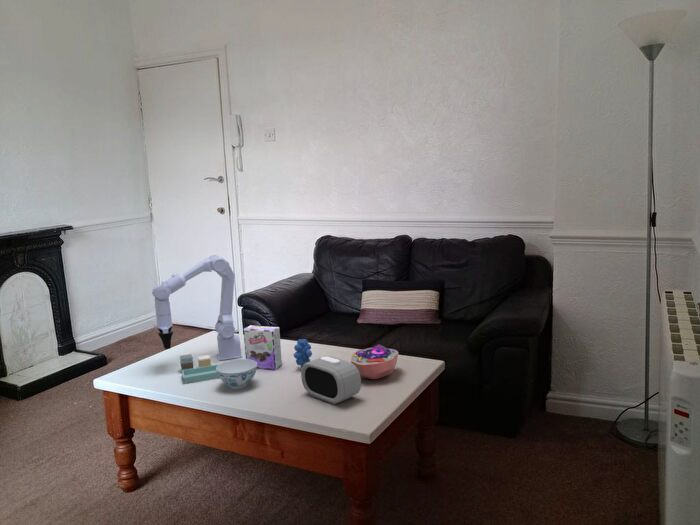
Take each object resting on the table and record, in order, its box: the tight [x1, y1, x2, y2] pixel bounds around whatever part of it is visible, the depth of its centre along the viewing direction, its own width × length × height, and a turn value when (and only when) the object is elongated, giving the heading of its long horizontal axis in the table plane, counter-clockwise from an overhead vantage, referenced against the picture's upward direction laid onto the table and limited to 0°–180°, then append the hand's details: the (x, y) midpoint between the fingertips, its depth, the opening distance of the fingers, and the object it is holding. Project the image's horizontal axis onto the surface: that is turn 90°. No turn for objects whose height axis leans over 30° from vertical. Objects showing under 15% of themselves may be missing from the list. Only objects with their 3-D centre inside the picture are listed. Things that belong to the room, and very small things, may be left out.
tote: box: [181, 363, 220, 385], centre depth 225 cm, size 15×9×2 cm, turn 110°
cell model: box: [350, 344, 399, 380], centre depth 215 cm, size 17×20×11 cm
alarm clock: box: [300, 355, 362, 405], centre depth 198 cm, size 21×10×13 cm, turn 45°
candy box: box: [242, 324, 283, 371], centre depth 232 cm, size 14×6×16 cm, turn 68°
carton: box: [197, 354, 212, 368], centre depth 235 cm, size 5×5×5 cm
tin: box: [179, 353, 194, 372], centre depth 233 cm, size 5×5×6 cm
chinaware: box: [216, 358, 258, 390], centre depth 213 cm, size 15×15×8 cm
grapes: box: [293, 338, 313, 368], centre depth 229 cm, size 12×7×12 cm, turn 155°
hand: (167, 346), depth 235 cm, fingers open, 7 cm apart
